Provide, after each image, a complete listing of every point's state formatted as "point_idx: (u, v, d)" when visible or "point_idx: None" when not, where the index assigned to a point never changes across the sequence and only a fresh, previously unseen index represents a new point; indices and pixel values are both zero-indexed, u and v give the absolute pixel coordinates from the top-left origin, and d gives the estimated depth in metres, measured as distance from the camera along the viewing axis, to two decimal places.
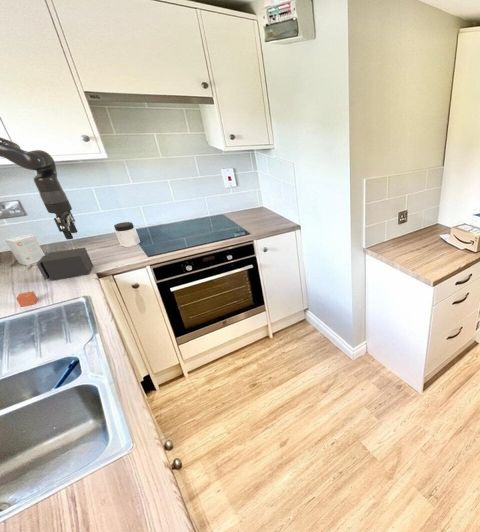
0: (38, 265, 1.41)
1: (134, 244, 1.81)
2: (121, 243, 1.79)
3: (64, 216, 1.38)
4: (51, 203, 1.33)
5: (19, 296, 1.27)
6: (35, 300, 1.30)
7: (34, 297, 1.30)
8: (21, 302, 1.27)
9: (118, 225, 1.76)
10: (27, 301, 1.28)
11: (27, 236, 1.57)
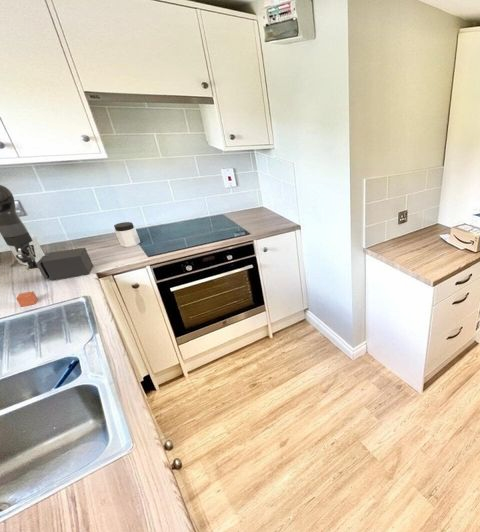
0: (38, 265, 1.41)
1: (134, 244, 1.81)
2: (121, 243, 1.79)
3: (24, 248, 1.38)
4: (9, 236, 1.34)
5: (19, 296, 1.27)
6: (35, 300, 1.30)
7: (34, 297, 1.30)
8: (21, 302, 1.27)
9: (118, 225, 1.76)
10: (27, 301, 1.28)
11: None
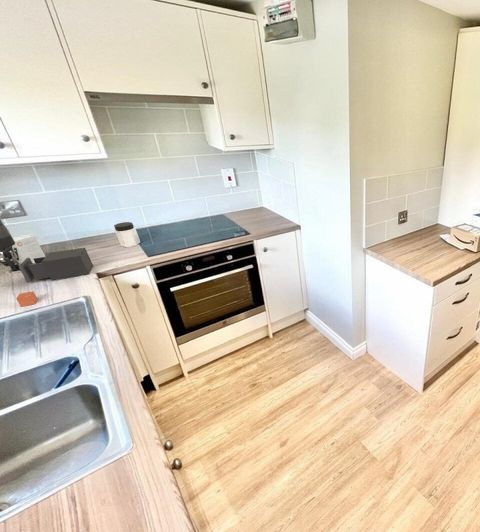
0: (20, 268, 1.38)
1: (134, 244, 1.81)
2: (121, 243, 1.79)
3: (6, 251, 1.36)
4: None
5: (19, 296, 1.27)
6: (35, 300, 1.30)
7: (34, 297, 1.30)
8: (21, 302, 1.27)
9: (118, 225, 1.76)
10: (27, 301, 1.28)
11: (27, 236, 1.57)
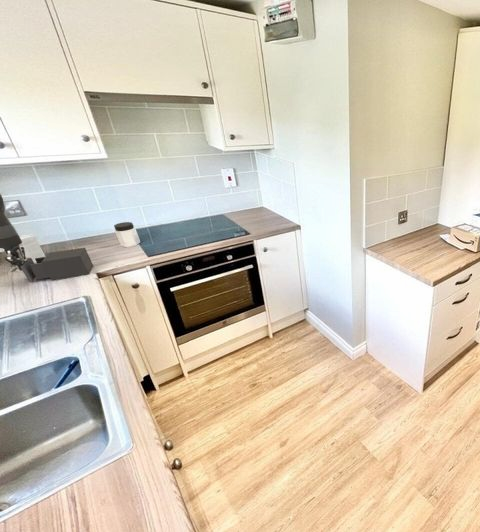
0: (22, 267, 1.39)
1: (134, 244, 1.81)
2: (121, 243, 1.79)
3: (13, 250, 1.37)
4: None
5: None
6: None
7: None
8: None
9: (118, 225, 1.76)
10: None
11: (27, 236, 1.57)
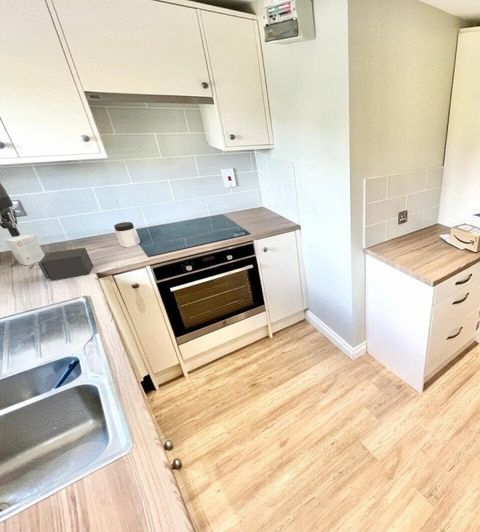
0: (40, 265, 1.41)
1: (134, 244, 1.81)
2: (121, 243, 1.79)
3: (4, 213, 1.31)
4: None
5: None
6: None
7: None
8: None
9: (118, 225, 1.76)
10: None
11: (27, 236, 1.57)
